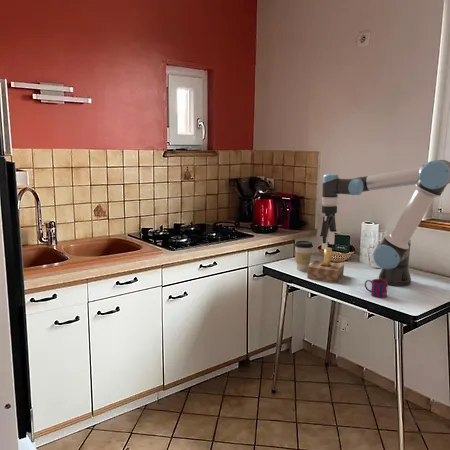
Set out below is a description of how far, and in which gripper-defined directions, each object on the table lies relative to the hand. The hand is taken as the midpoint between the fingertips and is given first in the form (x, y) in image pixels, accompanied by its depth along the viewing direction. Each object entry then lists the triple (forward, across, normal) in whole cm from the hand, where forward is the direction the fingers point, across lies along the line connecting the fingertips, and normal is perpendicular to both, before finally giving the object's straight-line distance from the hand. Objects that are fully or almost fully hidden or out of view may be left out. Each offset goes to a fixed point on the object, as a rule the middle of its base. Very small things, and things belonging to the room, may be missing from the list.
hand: (328, 246), depth 232 cm
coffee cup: (+16, -7, -15) cm, 23 cm away
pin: (+15, 0, -1) cm, 15 cm away
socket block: (+16, 0, -1) cm, 16 cm away
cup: (+17, +16, +27) cm, 35 cm away
